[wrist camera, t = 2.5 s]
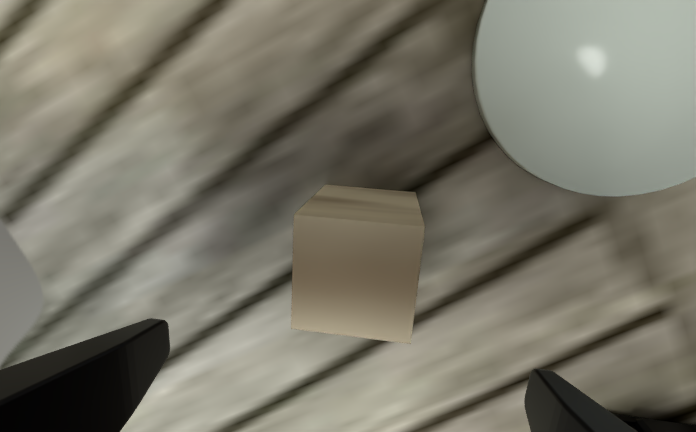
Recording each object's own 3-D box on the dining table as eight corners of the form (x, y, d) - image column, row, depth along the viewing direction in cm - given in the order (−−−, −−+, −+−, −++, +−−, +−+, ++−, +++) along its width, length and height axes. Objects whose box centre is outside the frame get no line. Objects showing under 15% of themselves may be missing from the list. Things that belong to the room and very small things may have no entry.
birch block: (405, 275, 19) (410, 343, 13) (321, 266, 20) (291, 328, 14) (415, 192, 18) (425, 227, 12) (325, 184, 18) (294, 214, 13)
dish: (728, 202, 16) (753, 208, 15) (454, 180, 17) (458, 184, 16) (842, -123, 13) (885, -147, 12) (496, -123, 14) (505, -144, 13)
